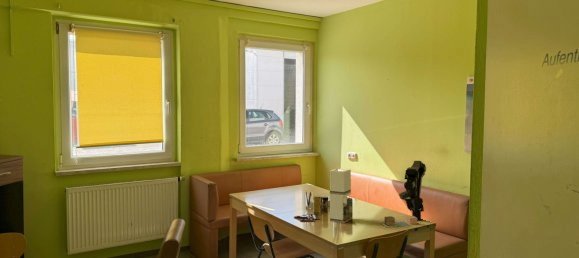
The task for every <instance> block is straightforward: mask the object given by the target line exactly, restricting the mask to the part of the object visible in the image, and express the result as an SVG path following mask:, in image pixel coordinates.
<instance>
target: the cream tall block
mask: <svg viewBox="0 0 579 258" xmlns="http://www.w3.org/2000/svg"><path fill="white" fill-rule="evenodd" d="M351 172H352V170H351V169H349V168H348V169H347V170H339V168H334V169H330V170H329V221H330V222H331V221H335V222H334V223H339V222H341V224H345V223H347V222H349V221H351V220H352V216H349V215H344V208H345V207H347V206H348V204H347V203H348V201H347V200H348V199H347V198H348V196H349V195H351V194H352V179H351V177H352V176H351Z"/></svg>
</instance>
